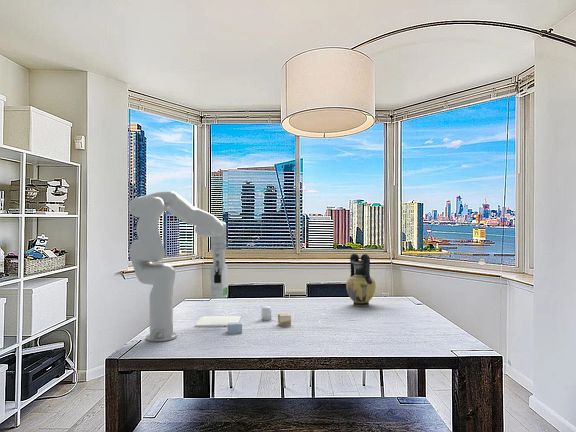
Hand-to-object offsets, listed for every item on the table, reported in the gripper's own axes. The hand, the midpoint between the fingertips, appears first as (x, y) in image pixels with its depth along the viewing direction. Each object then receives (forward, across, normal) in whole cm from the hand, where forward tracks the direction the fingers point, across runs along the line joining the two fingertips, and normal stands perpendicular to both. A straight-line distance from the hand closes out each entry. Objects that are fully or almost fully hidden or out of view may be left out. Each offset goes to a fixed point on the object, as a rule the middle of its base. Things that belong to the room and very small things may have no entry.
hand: (219, 281), depth 218 cm
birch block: (+20, -8, -32) cm, 39 cm away
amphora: (+20, +41, -77) cm, 89 cm away
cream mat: (+20, 0, 0) cm, 20 cm away
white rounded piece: (+20, +5, -23) cm, 31 cm away
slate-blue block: (+20, -21, -10) cm, 31 cm away
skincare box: (+8, 0, 0) cm, 8 cm away
